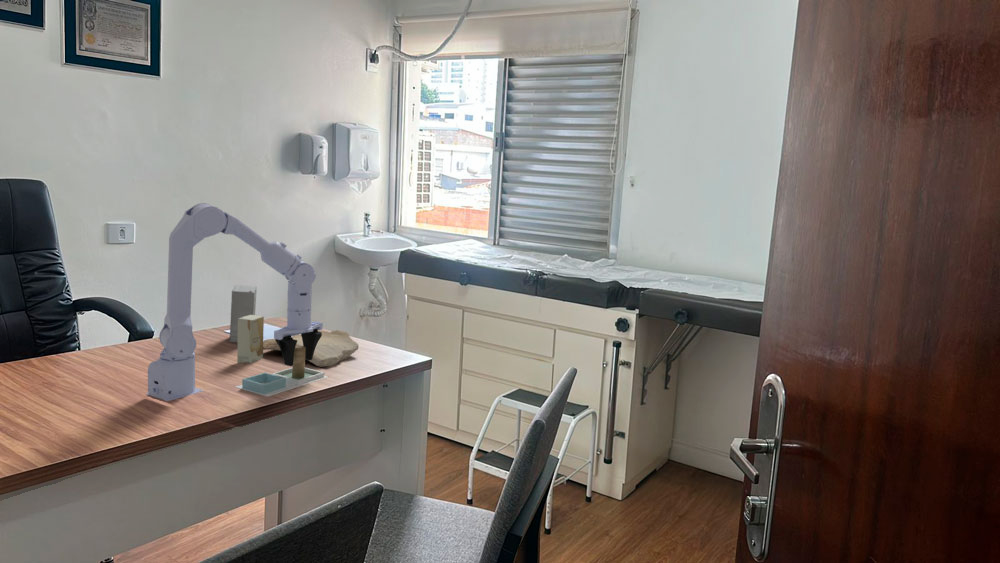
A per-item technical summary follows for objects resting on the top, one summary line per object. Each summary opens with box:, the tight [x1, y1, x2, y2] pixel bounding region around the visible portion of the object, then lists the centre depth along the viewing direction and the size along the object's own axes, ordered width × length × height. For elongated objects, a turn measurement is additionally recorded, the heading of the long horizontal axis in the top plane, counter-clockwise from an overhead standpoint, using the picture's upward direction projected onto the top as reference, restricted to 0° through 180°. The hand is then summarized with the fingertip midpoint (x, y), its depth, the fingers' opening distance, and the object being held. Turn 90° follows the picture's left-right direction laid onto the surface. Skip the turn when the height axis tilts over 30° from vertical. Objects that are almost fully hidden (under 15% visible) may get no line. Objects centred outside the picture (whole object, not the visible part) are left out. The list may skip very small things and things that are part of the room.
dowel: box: [291, 346, 306, 378], centre depth 178 cm, size 3×3×8 cm
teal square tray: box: [241, 372, 286, 394], centre depth 169 cm, size 7×7×2 cm
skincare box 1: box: [229, 284, 258, 344], centre depth 211 cm, size 8×7×16 cm
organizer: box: [235, 367, 329, 398], centre depth 174 cm, size 20×11×2 cm, turn 151°
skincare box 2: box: [236, 314, 265, 364], centre depth 190 cm, size 6×4×12 cm
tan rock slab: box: [263, 329, 359, 368], centre depth 200 cm, size 24×8×20 cm
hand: (298, 362), depth 178 cm, fingers open, 6 cm apart
